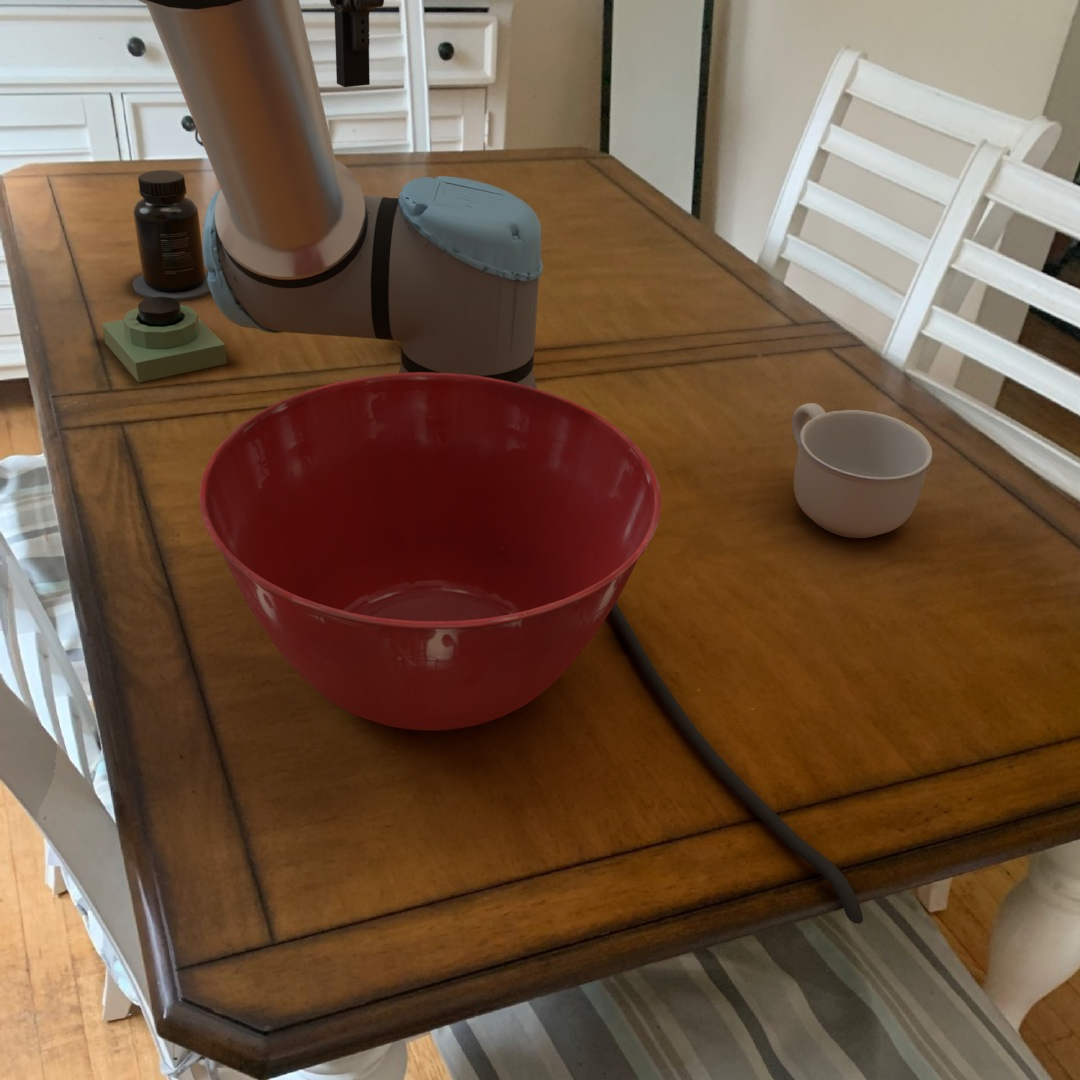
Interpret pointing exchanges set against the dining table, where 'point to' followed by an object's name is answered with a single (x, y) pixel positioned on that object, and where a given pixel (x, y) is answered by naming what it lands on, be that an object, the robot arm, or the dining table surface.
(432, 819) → the dining table surface
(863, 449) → the teacup
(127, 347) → the button box
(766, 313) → the dining table surface
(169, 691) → the dining table surface
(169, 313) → the button
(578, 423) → the mixing bowl
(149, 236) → the supplement bottle
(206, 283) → the coaster
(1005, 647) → the dining table surface
